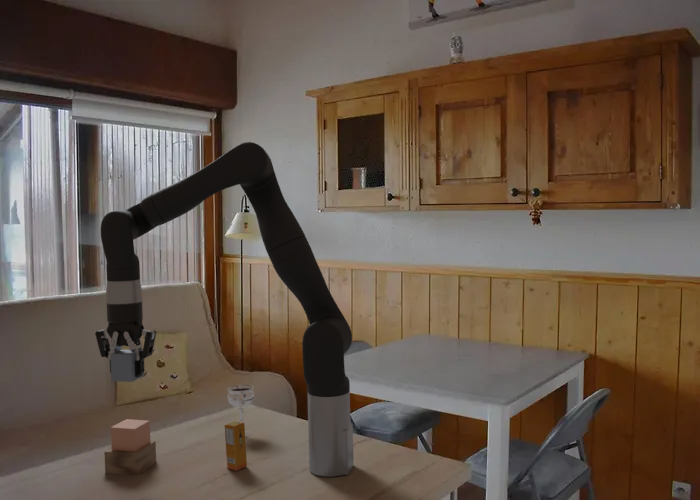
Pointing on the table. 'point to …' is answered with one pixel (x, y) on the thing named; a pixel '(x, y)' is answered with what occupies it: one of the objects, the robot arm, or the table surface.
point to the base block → (130, 460)
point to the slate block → (123, 366)
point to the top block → (130, 435)
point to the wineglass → (241, 399)
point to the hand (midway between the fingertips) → (127, 375)
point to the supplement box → (235, 445)
